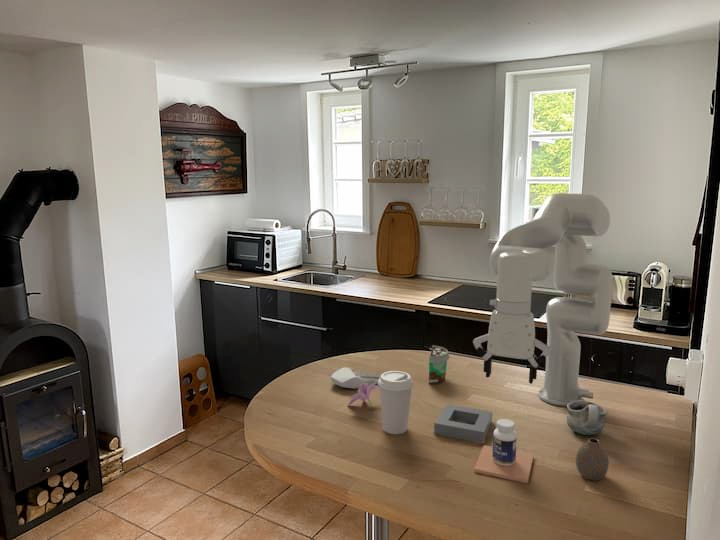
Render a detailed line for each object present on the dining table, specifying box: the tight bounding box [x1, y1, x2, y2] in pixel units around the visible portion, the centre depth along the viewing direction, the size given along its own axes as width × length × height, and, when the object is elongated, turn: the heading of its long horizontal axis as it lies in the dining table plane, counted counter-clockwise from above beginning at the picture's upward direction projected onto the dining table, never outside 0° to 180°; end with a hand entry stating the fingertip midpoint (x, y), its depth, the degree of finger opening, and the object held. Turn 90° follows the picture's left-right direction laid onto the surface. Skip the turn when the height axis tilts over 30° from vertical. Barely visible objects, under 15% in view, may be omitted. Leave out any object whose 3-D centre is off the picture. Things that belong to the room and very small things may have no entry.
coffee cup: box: [377, 370, 415, 435], centre depth 146 cm, size 10×10×15 cm
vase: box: [575, 437, 610, 481], centre depth 124 cm, size 7×7×9 cm
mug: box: [566, 399, 607, 436], centre depth 144 cm, size 10×12×10 cm
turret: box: [330, 367, 383, 389], centre depth 178 cm, size 10×20×5 cm, turn 108°
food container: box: [428, 344, 450, 386], centre depth 181 cm, size 12×6×10 cm, turn 168°
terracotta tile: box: [473, 444, 534, 484], centre depth 130 cm, size 12×12×1 cm
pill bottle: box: [492, 418, 518, 466], centre depth 129 cm, size 5×5×10 cm
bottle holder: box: [433, 403, 493, 444], centre depth 148 cm, size 13×13×3 cm
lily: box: [347, 380, 380, 412], centre depth 160 cm, size 11×11×9 cm
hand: (509, 378), depth 126 cm, fingers open, 9 cm apart
